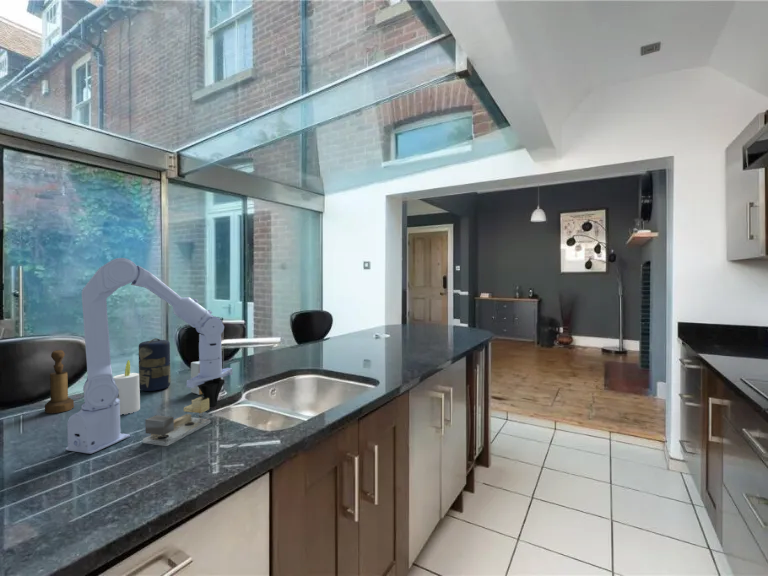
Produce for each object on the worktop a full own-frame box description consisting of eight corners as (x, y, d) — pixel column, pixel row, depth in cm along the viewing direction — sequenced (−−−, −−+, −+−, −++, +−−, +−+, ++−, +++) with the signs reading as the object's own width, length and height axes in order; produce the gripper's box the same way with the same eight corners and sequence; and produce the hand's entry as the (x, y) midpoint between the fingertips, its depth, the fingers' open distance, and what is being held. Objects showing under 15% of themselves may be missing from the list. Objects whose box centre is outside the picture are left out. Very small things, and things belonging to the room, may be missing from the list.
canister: (132, 391, 127) (131, 340, 127) (156, 384, 137) (155, 336, 136) (153, 393, 125) (152, 341, 124) (177, 386, 134) (175, 336, 133)
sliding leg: (201, 419, 97) (201, 401, 97) (183, 417, 99) (183, 399, 99) (209, 415, 100) (209, 397, 100) (192, 413, 102) (191, 396, 102)
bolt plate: (167, 446, 85) (166, 441, 85) (143, 442, 87) (142, 438, 87) (210, 423, 98) (210, 419, 98) (188, 420, 100) (188, 416, 100)
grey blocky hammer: (163, 440, 86) (163, 421, 86) (145, 438, 87) (144, 419, 87) (202, 420, 98) (202, 403, 98) (186, 418, 99) (186, 402, 99)
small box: (198, 395, 122) (198, 364, 122) (190, 392, 126) (190, 362, 126) (221, 389, 129) (221, 359, 129) (213, 386, 132) (213, 357, 132)
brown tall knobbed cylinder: (79, 406, 113) (77, 348, 112) (59, 414, 106) (57, 352, 106) (60, 405, 114) (58, 348, 113) (38, 413, 107) (36, 352, 107)
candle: (107, 414, 106) (106, 362, 106) (128, 406, 112) (127, 357, 112) (125, 415, 104) (123, 363, 104) (145, 408, 111) (143, 358, 110)
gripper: (219, 352, 111) (219, 397, 111) (177, 362, 97) (178, 413, 98) (237, 353, 109) (238, 399, 109) (197, 364, 95) (198, 416, 95)
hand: (211, 406), depth 103 cm, fingers closed
